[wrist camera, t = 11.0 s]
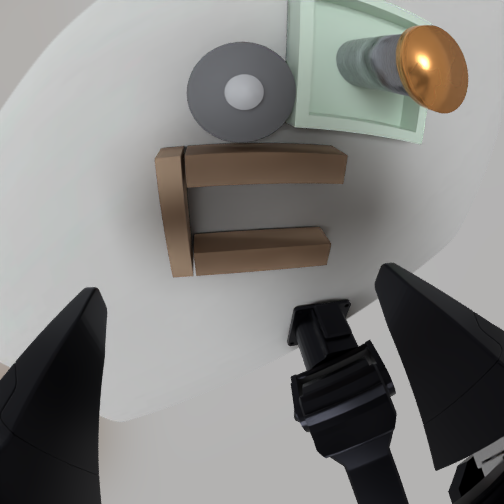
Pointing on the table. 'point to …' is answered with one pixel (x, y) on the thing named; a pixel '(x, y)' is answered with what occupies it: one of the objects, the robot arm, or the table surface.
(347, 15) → the tray
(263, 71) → the pulley
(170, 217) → the brown u-shaped piece
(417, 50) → the pin
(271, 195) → the table surface
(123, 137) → the table surface
